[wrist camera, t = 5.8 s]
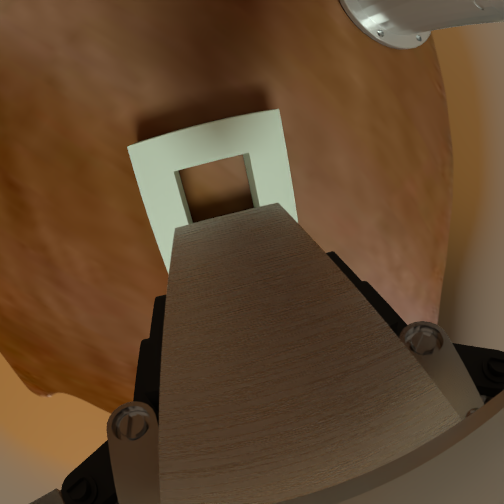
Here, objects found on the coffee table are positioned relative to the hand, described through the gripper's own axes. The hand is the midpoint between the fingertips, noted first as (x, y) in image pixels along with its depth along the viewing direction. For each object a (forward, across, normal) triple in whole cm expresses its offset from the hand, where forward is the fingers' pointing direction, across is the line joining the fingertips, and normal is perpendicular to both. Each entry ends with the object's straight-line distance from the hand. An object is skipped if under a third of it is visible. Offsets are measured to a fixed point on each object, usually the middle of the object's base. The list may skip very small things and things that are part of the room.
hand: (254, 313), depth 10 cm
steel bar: (+4, 0, 0) cm, 4 cm away
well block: (+19, 0, 0) cm, 19 cm away
